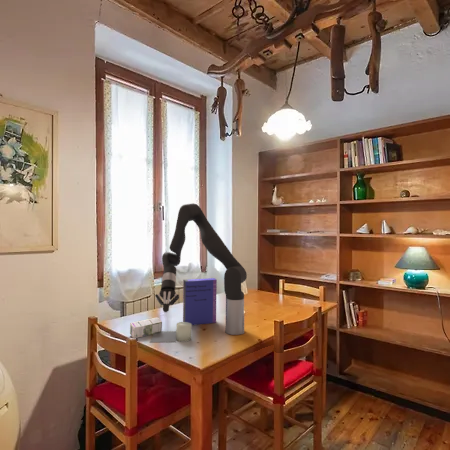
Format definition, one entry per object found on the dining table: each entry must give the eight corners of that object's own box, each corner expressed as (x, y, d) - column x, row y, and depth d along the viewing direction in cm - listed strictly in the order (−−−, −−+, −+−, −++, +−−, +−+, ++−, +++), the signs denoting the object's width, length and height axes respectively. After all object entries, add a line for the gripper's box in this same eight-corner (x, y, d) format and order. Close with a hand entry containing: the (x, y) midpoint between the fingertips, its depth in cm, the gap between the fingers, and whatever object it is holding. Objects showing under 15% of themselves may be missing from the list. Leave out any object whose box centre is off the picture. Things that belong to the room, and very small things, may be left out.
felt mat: (178, 331, 172) (178, 331, 172) (176, 342, 157) (176, 342, 157) (154, 332, 171) (154, 331, 171) (149, 342, 156) (149, 342, 156)
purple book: (213, 320, 192) (213, 277, 192) (216, 322, 188) (216, 279, 187) (182, 323, 186) (183, 279, 185) (185, 326, 182) (185, 281, 181)
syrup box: (157, 316, 173) (129, 322, 165) (162, 321, 169) (133, 327, 160) (157, 327, 174) (129, 333, 166) (162, 332, 170) (133, 339, 162)
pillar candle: (190, 336, 165) (191, 322, 165) (190, 341, 158) (191, 326, 158) (176, 335, 165) (177, 321, 165) (175, 341, 158) (176, 326, 158)
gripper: (155, 278, 182) (151, 307, 170) (180, 278, 183) (178, 307, 171) (157, 286, 188) (153, 315, 176) (181, 286, 188) (179, 315, 176)
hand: (165, 311), depth 173 cm, fingers closed
